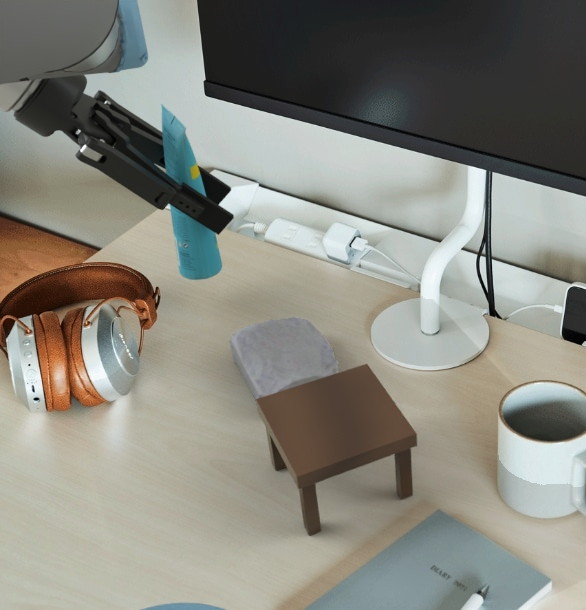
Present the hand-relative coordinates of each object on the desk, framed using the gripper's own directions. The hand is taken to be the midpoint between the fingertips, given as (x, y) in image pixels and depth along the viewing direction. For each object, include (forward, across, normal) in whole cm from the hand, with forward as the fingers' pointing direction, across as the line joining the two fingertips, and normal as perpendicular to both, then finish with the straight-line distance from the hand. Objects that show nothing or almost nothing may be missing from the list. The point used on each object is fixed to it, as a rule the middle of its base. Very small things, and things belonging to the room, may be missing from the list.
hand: (224, 210), depth 104 cm
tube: (+3, 0, -8) cm, 8 cm away
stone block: (+12, +16, -5) cm, 21 cm away
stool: (+14, +33, -3) cm, 36 cm away
